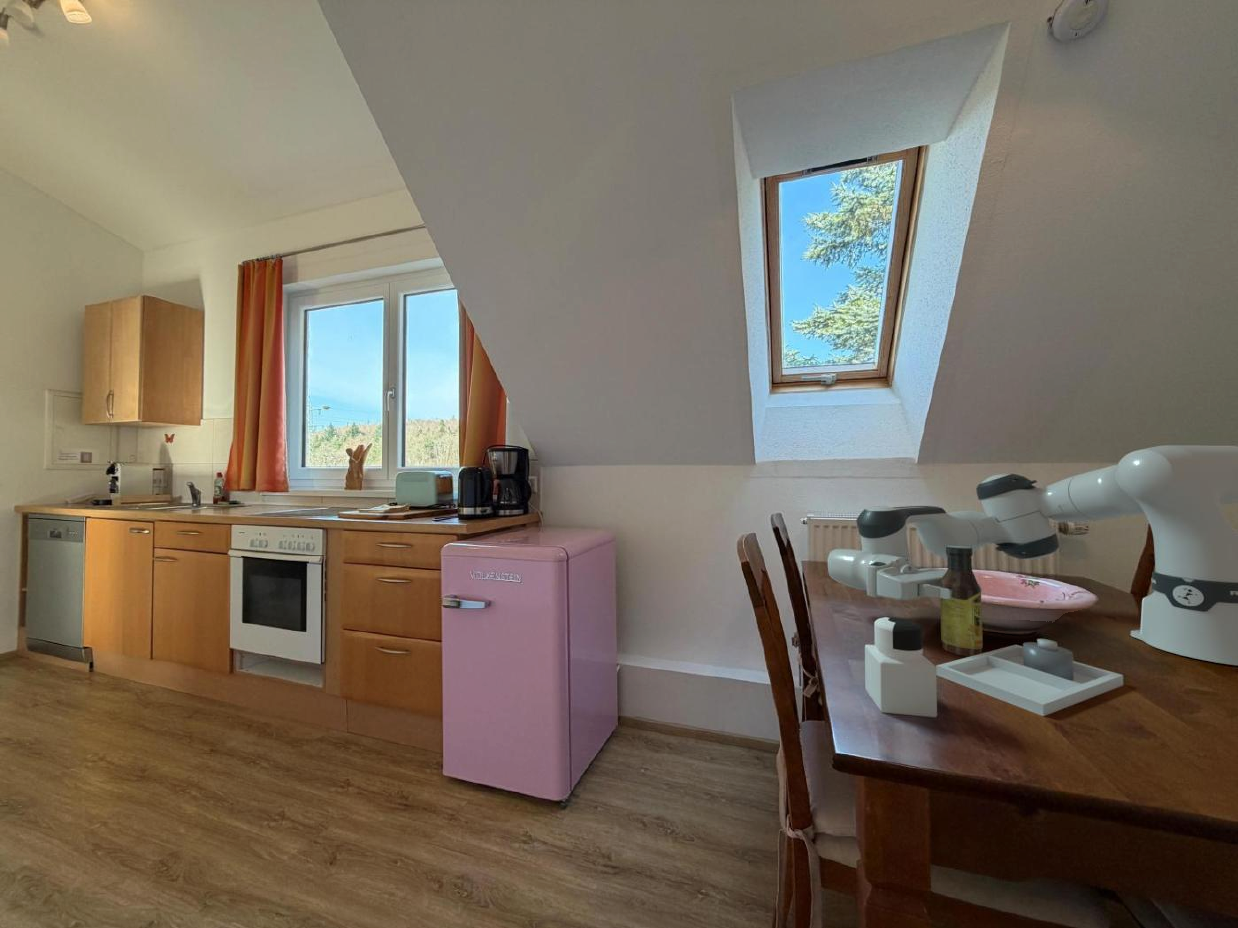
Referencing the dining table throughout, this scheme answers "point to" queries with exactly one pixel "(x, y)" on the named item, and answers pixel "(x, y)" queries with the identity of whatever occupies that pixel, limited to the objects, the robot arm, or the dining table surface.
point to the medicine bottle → (900, 669)
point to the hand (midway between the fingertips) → (965, 592)
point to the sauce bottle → (961, 605)
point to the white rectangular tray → (1027, 680)
